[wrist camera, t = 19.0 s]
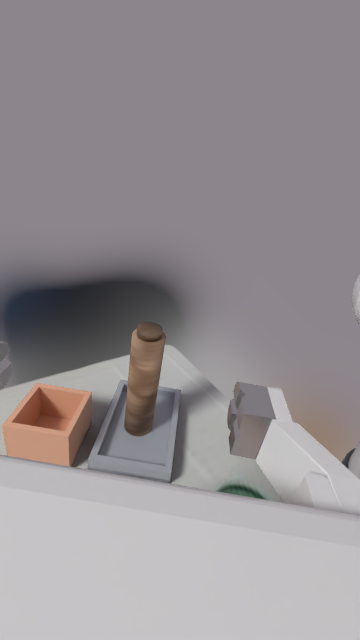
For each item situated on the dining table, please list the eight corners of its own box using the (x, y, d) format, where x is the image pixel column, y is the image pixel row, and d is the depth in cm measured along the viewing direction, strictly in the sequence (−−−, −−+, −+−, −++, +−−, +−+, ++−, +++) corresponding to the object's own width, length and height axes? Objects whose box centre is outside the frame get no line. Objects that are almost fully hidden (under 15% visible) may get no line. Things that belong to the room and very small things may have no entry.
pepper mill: (154, 417, 53) (168, 323, 44) (149, 438, 48) (164, 339, 40) (127, 412, 53) (136, 317, 44) (120, 433, 48) (129, 333, 40)
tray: (179, 399, 59) (180, 389, 58) (168, 484, 43) (171, 473, 42) (119, 389, 59) (120, 379, 58) (87, 470, 43) (87, 459, 42)
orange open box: (91, 423, 51) (91, 392, 47) (69, 470, 43) (68, 437, 39) (39, 414, 51) (36, 382, 47) (8, 460, 43) (2, 425, 39)
